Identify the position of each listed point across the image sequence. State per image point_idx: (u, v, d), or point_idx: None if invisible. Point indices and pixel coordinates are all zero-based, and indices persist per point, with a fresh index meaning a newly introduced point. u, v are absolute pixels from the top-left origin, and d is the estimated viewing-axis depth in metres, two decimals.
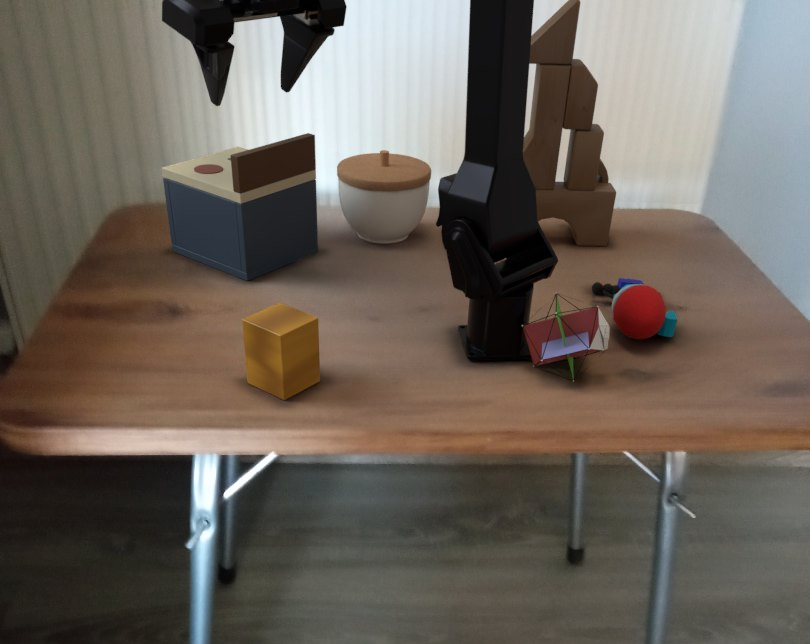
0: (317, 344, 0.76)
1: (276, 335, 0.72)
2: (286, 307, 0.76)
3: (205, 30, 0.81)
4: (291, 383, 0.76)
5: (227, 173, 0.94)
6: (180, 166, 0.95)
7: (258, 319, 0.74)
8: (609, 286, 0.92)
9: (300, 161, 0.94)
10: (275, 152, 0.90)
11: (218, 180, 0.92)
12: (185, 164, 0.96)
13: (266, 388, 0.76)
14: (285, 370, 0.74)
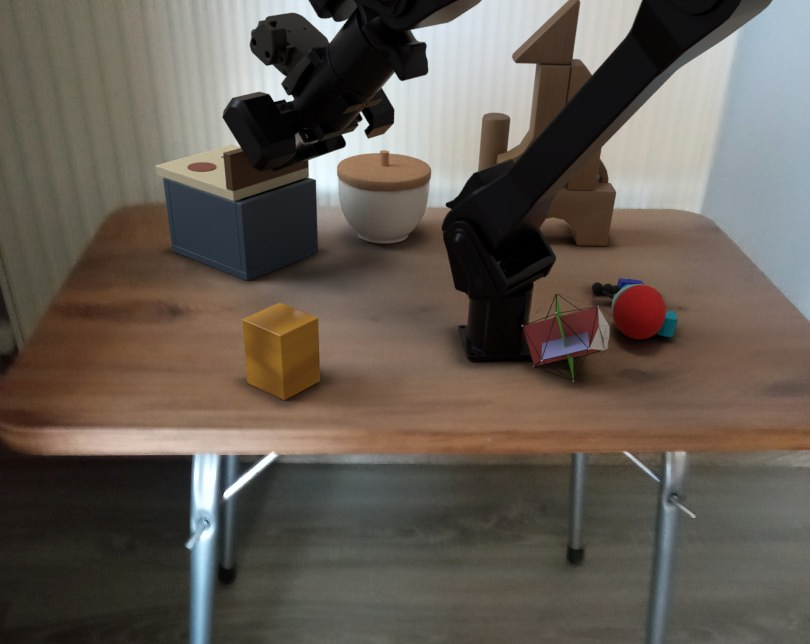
0: (317, 344, 0.76)
1: (276, 335, 0.72)
2: (286, 307, 0.76)
3: (268, 162, 0.80)
4: (291, 383, 0.76)
5: (220, 171, 0.94)
6: (173, 164, 0.95)
7: (258, 319, 0.74)
8: (609, 286, 0.92)
9: None
10: None
11: (211, 178, 0.92)
12: (179, 162, 0.96)
13: (266, 388, 0.76)
14: (285, 370, 0.74)
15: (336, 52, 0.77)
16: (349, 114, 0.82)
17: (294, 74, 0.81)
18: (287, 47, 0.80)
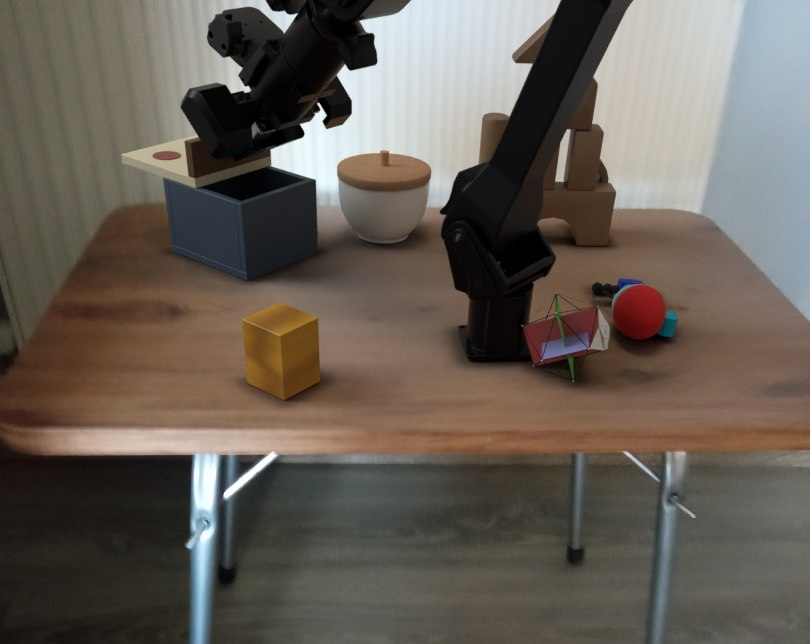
0: (317, 344, 0.76)
1: (276, 335, 0.72)
2: (286, 307, 0.76)
3: (225, 150, 0.83)
4: (291, 383, 0.76)
5: (184, 160, 0.97)
6: (139, 152, 0.98)
7: (258, 319, 0.74)
8: (609, 286, 0.92)
9: None
10: None
11: (175, 166, 0.95)
12: (145, 151, 0.99)
13: (266, 388, 0.76)
14: (285, 370, 0.74)
15: (288, 43, 0.80)
16: (304, 104, 0.84)
17: (249, 66, 0.84)
18: (242, 39, 0.82)
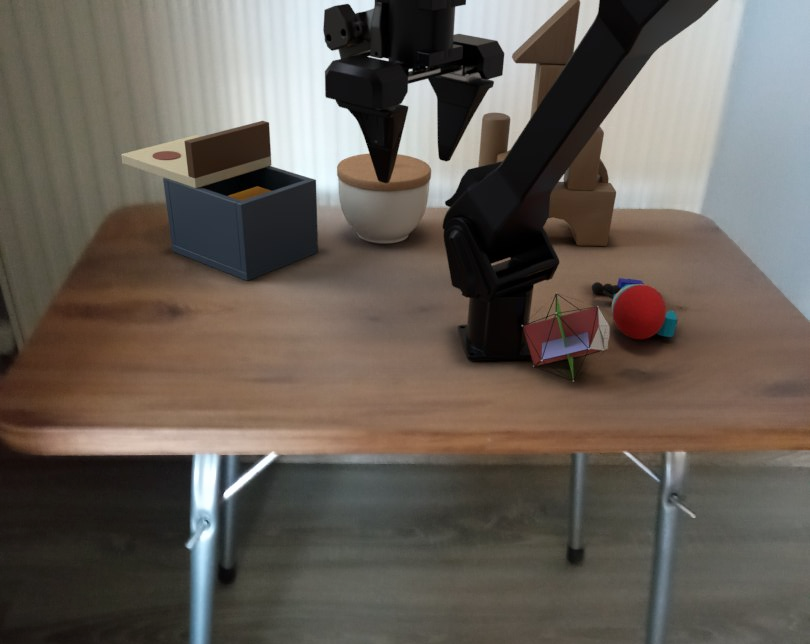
0: None
1: None
2: (262, 189, 0.97)
3: (382, 90, 0.71)
4: None
5: (184, 160, 0.97)
6: (139, 152, 0.98)
7: (239, 196, 0.95)
8: (609, 286, 0.92)
9: (255, 148, 0.97)
10: (229, 139, 0.93)
11: (175, 166, 0.95)
12: (145, 151, 0.99)
13: None
14: None
15: None
16: (441, 17, 0.74)
17: (374, 31, 0.76)
18: (356, 13, 0.76)
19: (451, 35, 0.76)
